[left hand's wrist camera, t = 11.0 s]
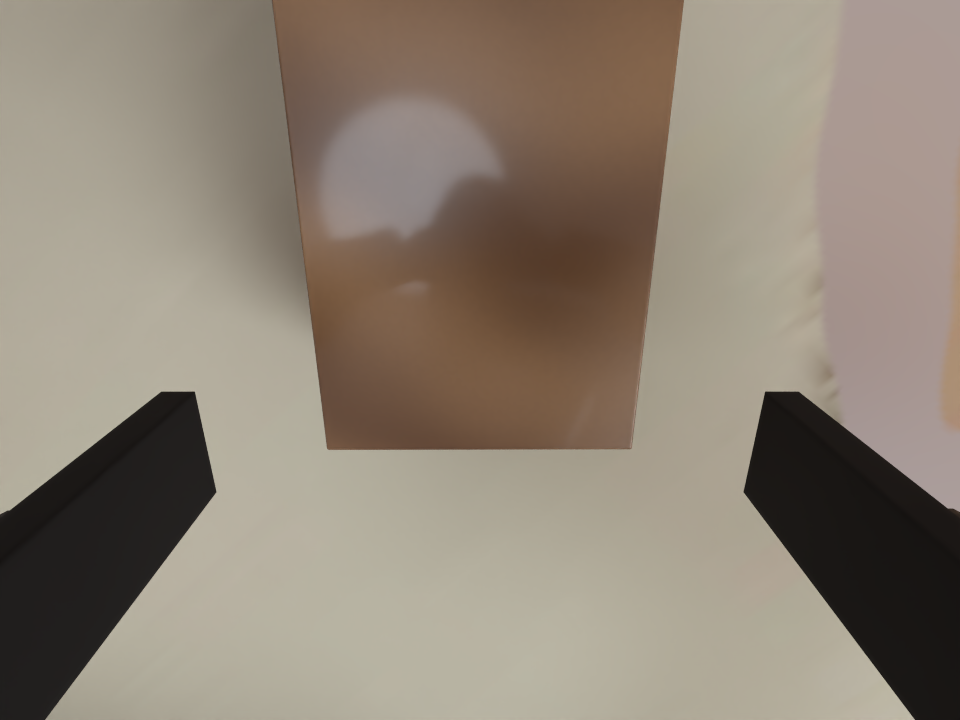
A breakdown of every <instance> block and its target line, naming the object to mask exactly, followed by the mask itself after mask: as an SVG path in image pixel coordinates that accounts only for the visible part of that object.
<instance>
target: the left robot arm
mask: <svg viewBox="0 0 960 720" xmlns="http://www.w3.org/2000/svg"><path fill="white" fill-rule="evenodd" d="M215 493H216V488H215V483H214V479H213V474H212V469H211V465H210V460H209V456H208V451H207V446H206V442H205V437H204V432H203V428H202V423H201V419H200V414H199V409H198V405H197V400H196V395H195V392H160V393H159V394H158V395H157V396H155V397H154V398H153V399H152V400H150V401H149V402H148V403H146V404H145V405H144V406H143V407H141V408H140V409H139V410H137V411H136V412H135V413H134V414H132V415H131V416H130V417H129V418H127V419H126V420H125V421H123V422H122V423H121V424H120V425H118V426H117V427H116V428H115V429H113V430H112V431H111V432H109V433H108V434H107V435H106V436H104V437H103V438H102V439H100V440H99V441H98V442H97V443H95V444H94V445H93V446H92V447H90V448H89V449H88V450H86V451H85V452H84V453H83V454H81V455H80V456H79V457H78V458H76V459H75V460H74V461H72V462H71V463H70V464H69V465H67V466H66V467H65V468H63V469H62V470H61V471H60V472H58V473H57V474H56V475H55V476H53V477H52V478H51V479H49V480H48V481H47V482H46V483H44V484H43V485H42V486H41V487H39V488H38V489H37V490H35V491H34V492H33V493H32V494H30V495H29V496H28V497H26V498H25V499H24V500H23V501H21V502H20V503H19V504H18V505H16V506H15V507H14V508H12V509H11V510H10V511H6V512H4V513H2V514H0V720H45V719H46V718H47V716H48V715H49V714H50V712H51V711H52V710H53V708H54V707H55V706H56V704H57V703H58V702H59V700H60V699H61V698H62V696H63V695H64V694H65V692H66V691H67V690H68V688H69V687H70V686H71V685H72V683H73V682H74V681H75V679H76V678H77V677H78V675H79V674H80V673H81V671H82V670H83V669H84V667H85V666H86V665H87V663H88V662H89V661H90V659H91V658H92V657H93V655H94V654H95V653H96V651H97V650H98V649H99V647H100V646H101V645H102V643H103V642H104V641H105V639H106V638H107V637H108V635H109V634H110V633H111V631H112V630H113V629H114V627H115V626H116V625H117V623H118V622H119V621H120V619H121V618H122V617H123V615H124V614H125V613H126V611H127V610H128V609H129V607H130V606H131V605H132V604H133V602H134V601H135V600H136V598H137V597H138V596H139V594H140V593H141V592H142V590H143V589H144V588H145V586H146V585H147V584H148V582H149V581H150V580H151V578H152V577H153V576H154V574H155V573H156V572H157V570H158V569H159V568H160V566H161V565H162V564H163V562H164V561H165V560H166V558H167V557H168V556H169V554H170V553H171V552H172V550H173V549H174V548H175V546H176V545H177V544H178V542H179V541H180V540H181V538H182V537H183V536H184V534H185V533H186V532H187V530H188V529H189V528H190V526H191V525H192V524H193V523H194V521H195V520H196V519H197V517H198V516H199V515H200V513H201V512H202V511H203V509H204V508H205V507H206V505H207V504H208V503H209V501H210V500H211V499H212V497H213V496H214V495H215ZM744 493H745V495H746V496H747V497H748V499H749V500H750V501H751V503H752V504H753V505H754V507H755V508H756V509H757V511H758V512H759V513H760V515H761V516H762V517H763V519H764V520H765V521H766V523H767V524H768V525H769V526H770V528H771V529H772V530H773V532H774V533H775V534H776V536H777V537H778V538H779V540H780V541H781V542H782V544H783V545H784V546H785V548H786V549H787V550H788V552H789V553H790V554H791V556H792V557H793V558H794V560H795V561H796V562H797V564H798V565H799V566H800V568H801V569H802V570H803V572H804V573H805V574H806V576H807V577H808V578H809V580H810V581H811V582H812V584H813V585H814V586H815V588H816V589H817V590H818V592H819V593H820V594H821V596H822V597H823V598H824V600H825V601H826V602H827V604H828V605H829V606H830V607H831V609H832V610H833V611H834V613H835V614H836V615H837V617H838V618H839V619H840V621H841V622H842V623H843V625H844V626H845V627H846V629H847V630H848V631H849V633H850V634H851V635H852V637H853V638H854V639H855V641H856V642H857V643H858V645H859V646H860V647H861V649H862V650H863V651H864V653H865V654H866V655H867V657H868V658H869V659H870V661H871V662H872V663H873V665H874V666H875V667H876V669H877V670H878V671H879V673H880V674H881V675H882V677H883V678H884V679H885V681H886V682H887V683H888V685H889V686H890V687H891V688H892V690H893V691H894V692H895V694H896V695H897V696H898V698H899V699H900V700H901V702H902V703H903V704H904V706H905V707H906V708H907V710H908V711H909V712H910V714H911V715H912V716H913V718H914V719H915V720H960V512H958V511H956V510H955V509H948V508H946V507H945V506H944V505H942V504H941V503H940V502H939V501H937V500H936V499H935V498H934V497H932V496H931V495H930V494H928V493H927V492H926V491H925V490H923V489H922V488H921V487H919V486H918V485H917V484H916V483H914V482H913V481H912V480H911V479H909V478H908V477H907V476H905V475H904V474H903V473H902V472H900V471H899V470H898V469H896V468H895V467H894V466H893V465H891V464H890V463H889V462H888V461H886V460H885V459H884V458H882V457H881V456H880V455H879V454H877V453H876V452H875V451H874V450H872V449H871V448H870V447H868V446H867V445H866V444H865V443H863V442H862V441H861V440H860V439H858V438H857V437H856V436H854V435H853V434H852V433H851V432H849V431H848V430H847V429H845V428H844V427H843V426H842V425H840V424H839V423H838V422H837V421H835V420H834V419H833V418H831V417H830V416H829V415H828V414H826V413H825V412H824V411H823V410H821V409H820V408H819V407H817V406H816V405H815V404H814V403H812V402H811V401H810V400H808V399H807V398H806V397H805V396H803V395H802V394H801V393H800V392H765V395H764V400H763V405H762V409H761V414H760V419H759V423H758V428H757V432H756V437H755V442H754V446H753V451H752V456H751V460H750V465H749V469H748V474H747V479H746V483H745V488H744Z"/></svg>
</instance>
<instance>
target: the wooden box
mask: <svg viewBox="0 0 960 720" xmlns="http://www.w3.org/2000/svg"><path fill="white" fill-rule="evenodd" d="M272 4H273V12H274V20H275V28H276V36H277V45H278V53H279V61H280V69H281V77H282V85H283V93H284V101H285V110H286V118H287V126H288V134H289V142H290V150H291V158H292V167H293V175H294V183H295V191H296V199H297V207H298V215H299V223H300V232H301V240H302V248H303V256H304V264H305V272H306V280H307V289H308V297H309V305H310V313H311V321H312V329H313V337H314V346H315V354H316V362H317V370H318V378H319V386H320V394H321V402H322V411H323V419H324V427H325V435H326V443H327V449H328V450H425V449H631V448H632V440H633V432H634V423H635V415H636V406H637V397H638V389H639V380H640V372H641V363H642V355H643V346H644V338H645V329H646V320H647V312H648V303H649V295H650V286H651V278H652V269H653V261H654V252H655V243H656V235H657V226H658V218H659V209H660V201H661V192H662V184H663V175H664V166H665V158H666V149H667V141H668V132H669V124H670V115H671V107H672V98H673V89H674V81H675V72H676V64H677V55H678V47H679V38H680V30H681V21H682V12H683V4H684V0H272Z"/></svg>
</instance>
